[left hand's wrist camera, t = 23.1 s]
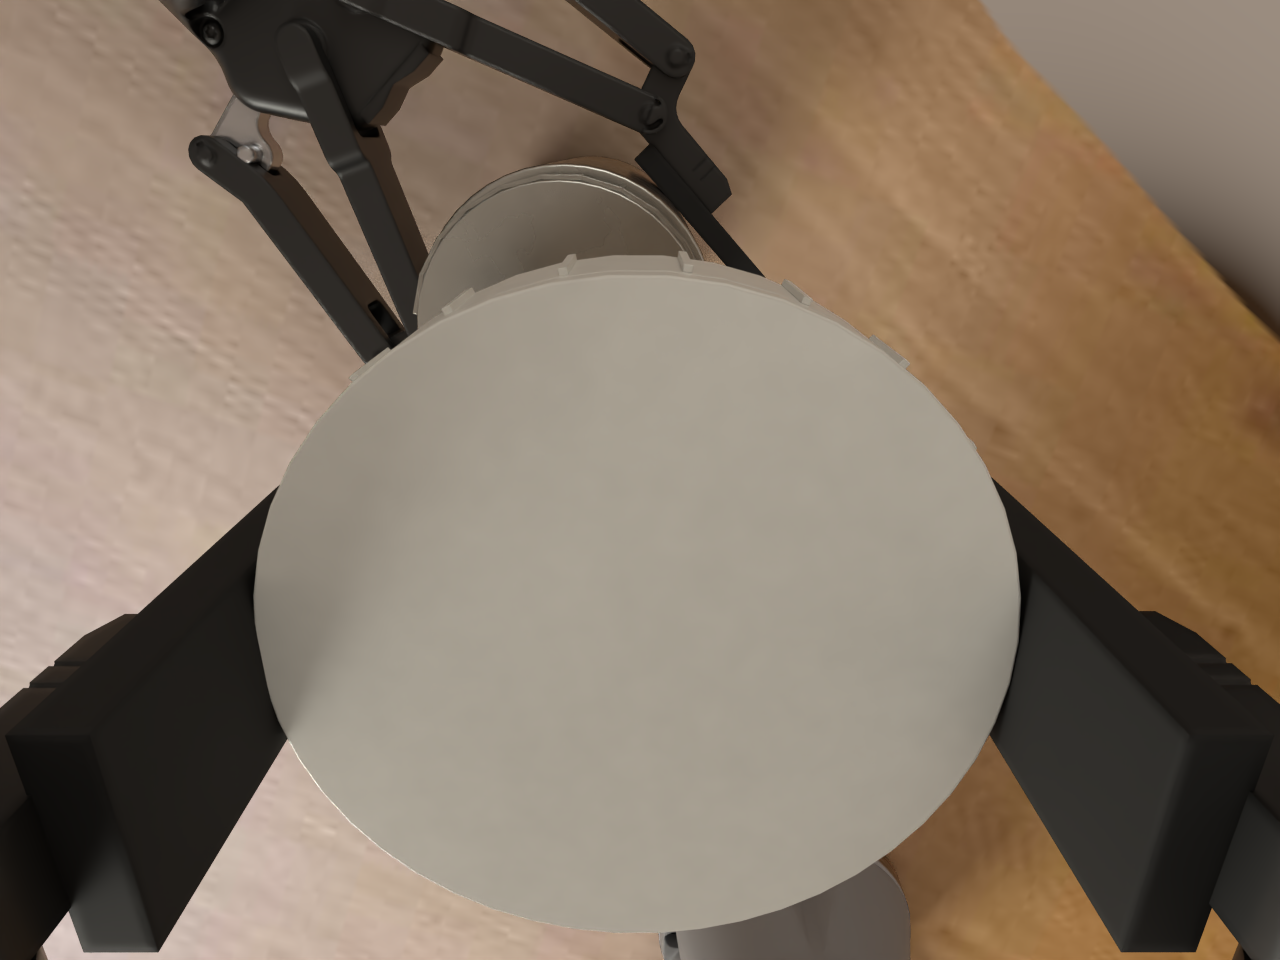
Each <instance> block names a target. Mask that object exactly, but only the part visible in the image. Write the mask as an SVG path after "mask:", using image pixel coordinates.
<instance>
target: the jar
mask: <svg viewBox="0 0 1280 960" xmlns="http://www.w3.org/2000/svg"><path fill="white" fill-rule="evenodd" d="M678 251H685V252H687V254H688V256H689V258H690V259H693V260H700V261H705V259H704V257H703V255H702V252H701V250H700V248H699V246H698V244H697V242H696V240H695V239H694V237H693V235H692V233H691V231H690V230H689V228H688V226H687V224H686V222H685V221H684V219H683V217H682V215H681V213H680V212H679V211H678V209H677V208H676V207H675V206H674V205H673V204H672V202H671V201H670V200H669V199H668V198H667V197H666V196H665V194H664V193H663V192H662V191H661V190H660V189H659V187H658V186H657V185H656V184H655V183H654V182H653V181H652V179H651V178H650V177H649V176H648V175H647V174H646V173H645V172H643V171H642V170H640V169H638V168H636V167H634V166H633V165H630V164H628V163H625V162H622V161H620V160H616V159H611V158H607V157H597V156H587V157H577V158H572V159H567V160H562V161H557V162H553V163H548V164H543V165H538V166H534V167H529V168H524V169H521V170H519V171H516V172H513V173H510V174H507V175H505V176H503V177H501V178H499V179H497V180H495V181H493V182H491V183H490V184H488V185H486V186H485V187H483V188H482V189H481V190H479V191H478V192H477V193H475V194H474V195H472V196H471V197H470V198H469V199H468V200H467V201H466V202H465V203H464V204H463V205H462V206H461V207H460V208H459V209H458V210H457V211H456V212H455V213H454V215H453V216H452V217H451V218H450V220H449V221H448V222H447V224H446V225H445V226H444V228H443V230H442V232H441V233H440V235H439V236H438V237H437V238H436V240H435V242H434V244H433V247H432V249H431V251H430V253H429V255H428V257H427V259H426V261H425V263H424V265H423V268H422V270H421V272H420V273H419V279H418V285H417V291H416V297H415V303H414V309H413V314H417V323H418V329H419V328H420V327H422V326H423V325H424V324H426V323H427V322H428V321H429V320H431V319H432V318H434V317H435V316H437V315H439V314H440V313H442V310H441V309H442V308H443V307H444V306H446V305H447V304H448V303H450V302H451V301H452V300H454V299H455V298H456V297H458V296H459V295H460V294H461V293H463V292H464V291H465V290H467V289H469V288H471V287H472V288H473V290H474V292H475V293H476V292H478V291H480V290H483V289H485V288H487V287H490V286H492V285H494V284H497V283H499V282H501V281H504V280H506V279H508V278H511V277H513V276H515V275H518V274H522V273H525V272H529V271H533V270H536V269H540V268H543V267H547V266H551V265H554V264H558V263H562V262H563V261H564V259H565V258H566V257H567V255H570V254H576V258H577V260H582V259H589V258H597V257H604V256H612V255H664V256H671V257H678Z"/></svg>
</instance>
